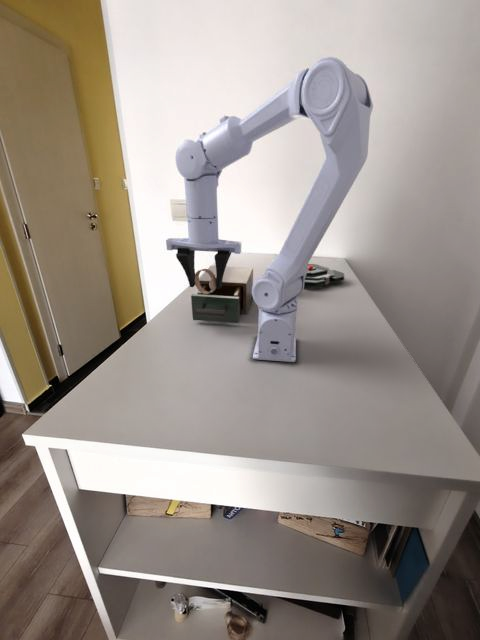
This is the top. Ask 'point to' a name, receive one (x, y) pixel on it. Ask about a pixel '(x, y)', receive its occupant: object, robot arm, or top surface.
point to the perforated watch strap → (211, 284)
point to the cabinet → (234, 281)
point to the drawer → (218, 304)
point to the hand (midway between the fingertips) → (206, 286)
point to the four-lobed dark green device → (321, 276)
